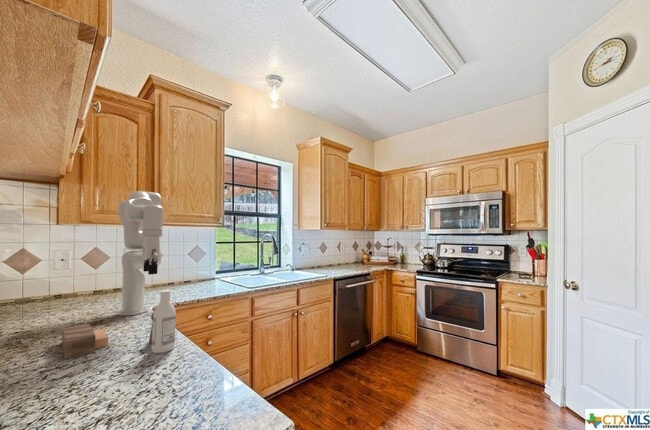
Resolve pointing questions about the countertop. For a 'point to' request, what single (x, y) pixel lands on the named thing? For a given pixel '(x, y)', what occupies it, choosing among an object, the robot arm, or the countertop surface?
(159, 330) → the bath foam
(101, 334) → the tile
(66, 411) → the countertop surface
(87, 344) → the shelf
